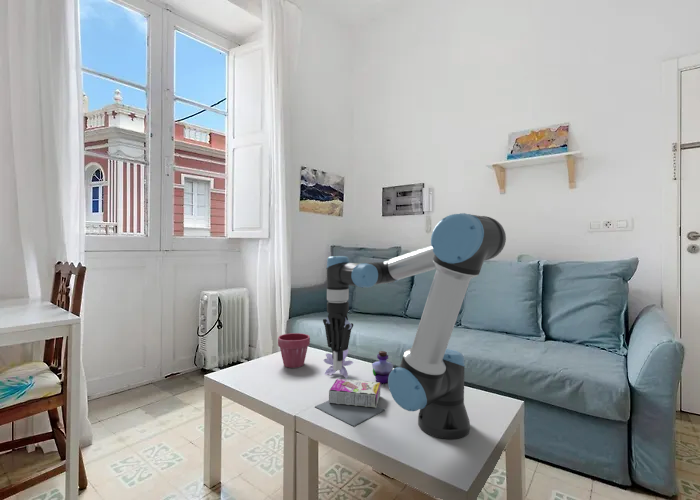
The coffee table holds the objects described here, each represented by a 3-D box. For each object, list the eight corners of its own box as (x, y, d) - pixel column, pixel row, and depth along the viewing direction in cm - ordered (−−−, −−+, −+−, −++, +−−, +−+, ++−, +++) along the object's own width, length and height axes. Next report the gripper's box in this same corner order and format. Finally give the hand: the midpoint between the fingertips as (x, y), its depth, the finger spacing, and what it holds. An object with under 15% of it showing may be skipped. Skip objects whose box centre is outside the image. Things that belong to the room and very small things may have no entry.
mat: (384, 410, 118) (384, 409, 118) (353, 426, 107) (353, 425, 107) (346, 393, 131) (346, 393, 131) (314, 407, 120) (314, 406, 120)
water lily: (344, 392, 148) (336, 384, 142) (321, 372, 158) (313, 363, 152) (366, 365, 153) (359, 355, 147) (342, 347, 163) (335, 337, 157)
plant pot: (299, 357, 172) (299, 331, 171) (315, 365, 161) (315, 337, 161) (272, 363, 163) (272, 335, 162) (287, 372, 152) (287, 342, 152)
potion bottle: (367, 380, 143) (367, 350, 143) (383, 375, 148) (383, 347, 148) (381, 387, 136) (381, 356, 136) (398, 382, 142) (398, 352, 141)
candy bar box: (336, 377, 132) (380, 381, 129) (336, 391, 132) (380, 395, 129) (328, 389, 121) (376, 394, 118) (328, 404, 121) (376, 409, 118)
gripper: (359, 302, 121) (358, 371, 121) (332, 297, 130) (332, 362, 130) (343, 304, 115) (343, 377, 116) (317, 300, 124) (316, 367, 125)
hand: (337, 369), depth 123 cm, fingers closed
